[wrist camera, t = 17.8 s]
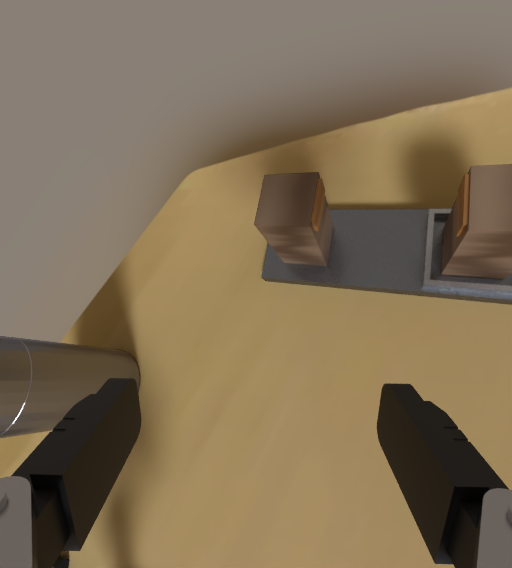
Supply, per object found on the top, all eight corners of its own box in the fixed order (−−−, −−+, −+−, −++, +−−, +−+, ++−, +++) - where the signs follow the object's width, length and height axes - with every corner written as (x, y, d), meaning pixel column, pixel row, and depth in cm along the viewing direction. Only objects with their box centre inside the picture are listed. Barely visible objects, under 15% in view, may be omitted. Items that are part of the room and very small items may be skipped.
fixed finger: (284, 263, 36) (254, 224, 27) (291, 224, 37) (264, 174, 28) (329, 266, 34) (313, 225, 25) (335, 225, 35) (321, 172, 26)
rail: (265, 281, 38) (258, 274, 36) (278, 215, 40) (272, 205, 38) (531, 306, 28) (545, 299, 25) (530, 216, 30) (542, 203, 28)
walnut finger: (437, 274, 30) (463, 229, 21) (439, 227, 31) (466, 166, 22) (503, 279, 28) (565, 231, 19) (504, 229, 29) (562, 161, 20)
